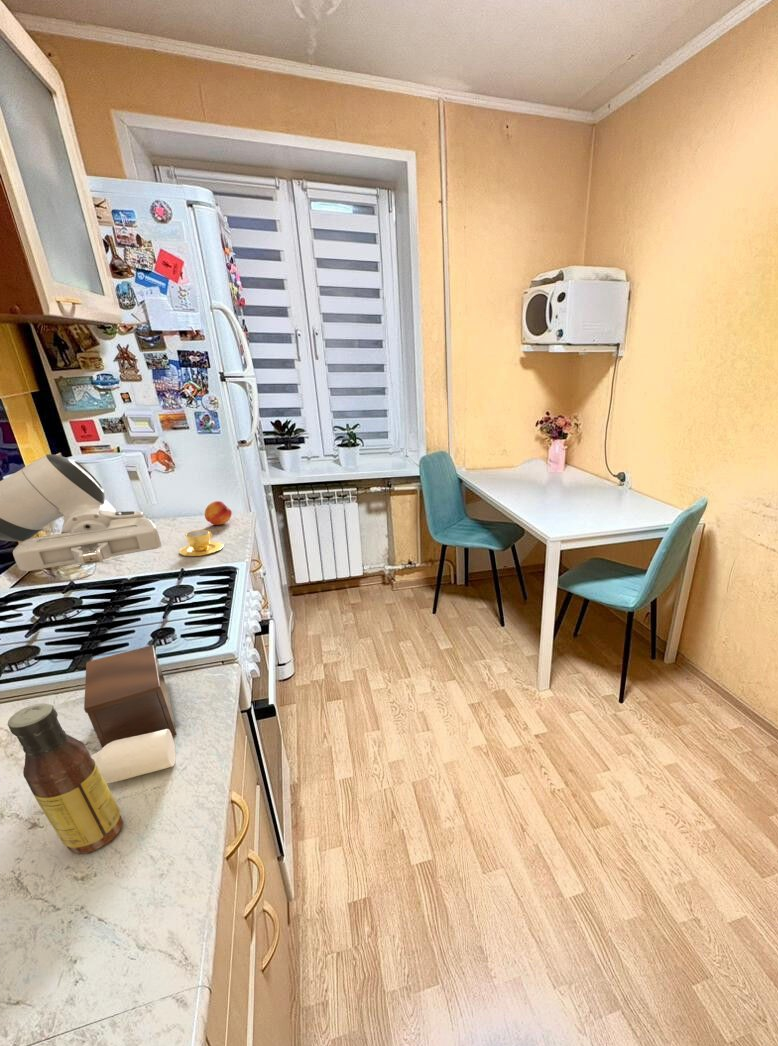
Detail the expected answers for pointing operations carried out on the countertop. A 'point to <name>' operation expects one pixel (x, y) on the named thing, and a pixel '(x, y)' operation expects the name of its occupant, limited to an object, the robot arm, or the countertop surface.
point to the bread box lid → (121, 678)
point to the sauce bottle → (65, 780)
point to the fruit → (217, 513)
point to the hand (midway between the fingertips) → (91, 559)
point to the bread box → (135, 716)
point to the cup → (200, 543)
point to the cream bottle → (136, 756)
